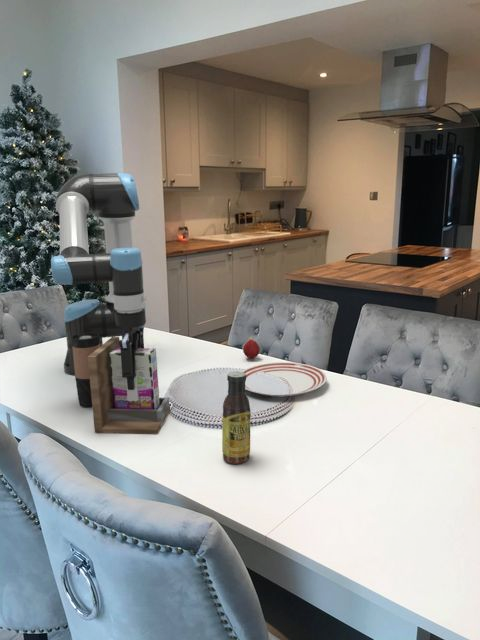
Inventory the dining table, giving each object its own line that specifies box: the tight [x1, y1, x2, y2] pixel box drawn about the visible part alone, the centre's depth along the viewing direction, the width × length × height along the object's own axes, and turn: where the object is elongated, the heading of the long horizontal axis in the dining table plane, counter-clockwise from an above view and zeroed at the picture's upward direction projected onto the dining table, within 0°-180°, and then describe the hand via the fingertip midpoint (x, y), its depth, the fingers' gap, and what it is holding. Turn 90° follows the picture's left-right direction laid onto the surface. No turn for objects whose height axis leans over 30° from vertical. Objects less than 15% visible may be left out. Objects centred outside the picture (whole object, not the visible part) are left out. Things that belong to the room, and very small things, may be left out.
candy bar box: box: [109, 347, 160, 409], centre depth 137 cm, size 11×5×16 cm, turn 81°
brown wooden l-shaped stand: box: [88, 336, 171, 435], centre depth 137 cm, size 18×16×20 cm
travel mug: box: [72, 333, 100, 409], centre depth 149 cm, size 8×8×20 cm
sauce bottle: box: [221, 370, 252, 465], centre depth 115 cm, size 6×6×20 cm
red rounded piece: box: [242, 337, 261, 361], centre depth 186 cm, size 6×6×8 cm
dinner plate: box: [241, 361, 327, 397], centre depth 161 cm, size 28×27×3 cm
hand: (136, 395), depth 138 cm, fingers closed on candy bar box, 5 cm apart
